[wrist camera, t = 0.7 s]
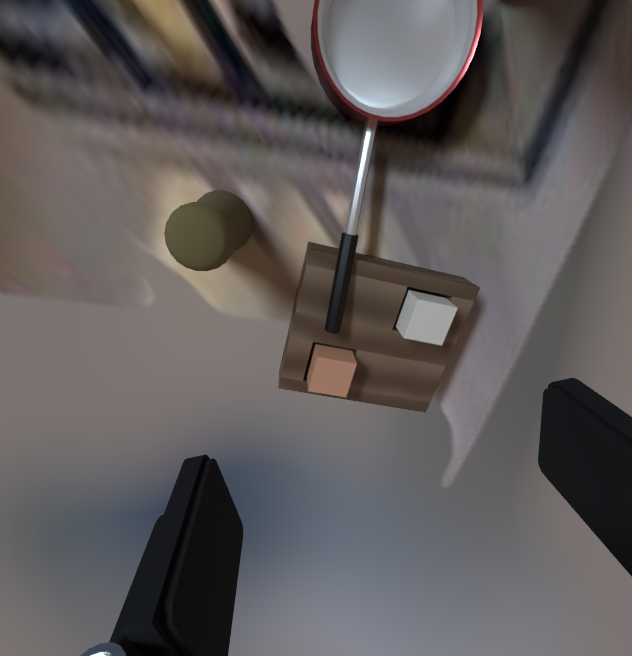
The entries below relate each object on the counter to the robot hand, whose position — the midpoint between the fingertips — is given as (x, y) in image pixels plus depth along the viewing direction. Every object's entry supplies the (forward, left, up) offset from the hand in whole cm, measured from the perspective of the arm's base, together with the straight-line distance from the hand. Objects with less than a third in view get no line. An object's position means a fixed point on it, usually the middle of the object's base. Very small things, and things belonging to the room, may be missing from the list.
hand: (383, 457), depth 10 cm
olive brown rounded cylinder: (0, -10, -30) cm, 32 cm away
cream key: (+4, +12, -26) cm, 29 cm away
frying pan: (-9, +3, -30) cm, 32 cm away
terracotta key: (+11, +4, -26) cm, 29 cm away
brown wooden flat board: (+8, +8, -30) cm, 32 cm away
